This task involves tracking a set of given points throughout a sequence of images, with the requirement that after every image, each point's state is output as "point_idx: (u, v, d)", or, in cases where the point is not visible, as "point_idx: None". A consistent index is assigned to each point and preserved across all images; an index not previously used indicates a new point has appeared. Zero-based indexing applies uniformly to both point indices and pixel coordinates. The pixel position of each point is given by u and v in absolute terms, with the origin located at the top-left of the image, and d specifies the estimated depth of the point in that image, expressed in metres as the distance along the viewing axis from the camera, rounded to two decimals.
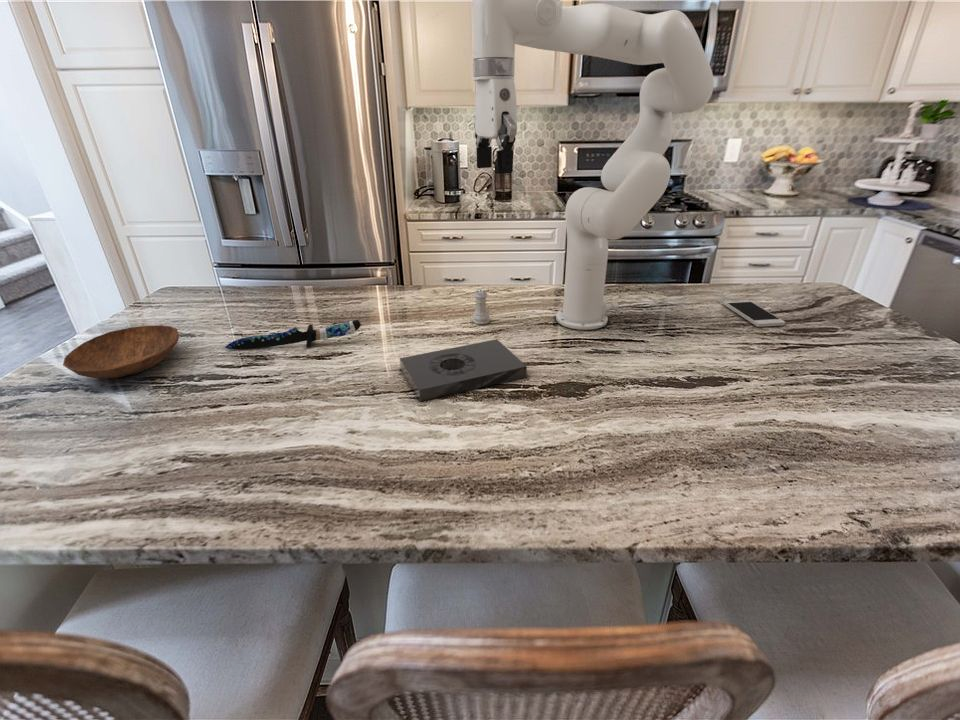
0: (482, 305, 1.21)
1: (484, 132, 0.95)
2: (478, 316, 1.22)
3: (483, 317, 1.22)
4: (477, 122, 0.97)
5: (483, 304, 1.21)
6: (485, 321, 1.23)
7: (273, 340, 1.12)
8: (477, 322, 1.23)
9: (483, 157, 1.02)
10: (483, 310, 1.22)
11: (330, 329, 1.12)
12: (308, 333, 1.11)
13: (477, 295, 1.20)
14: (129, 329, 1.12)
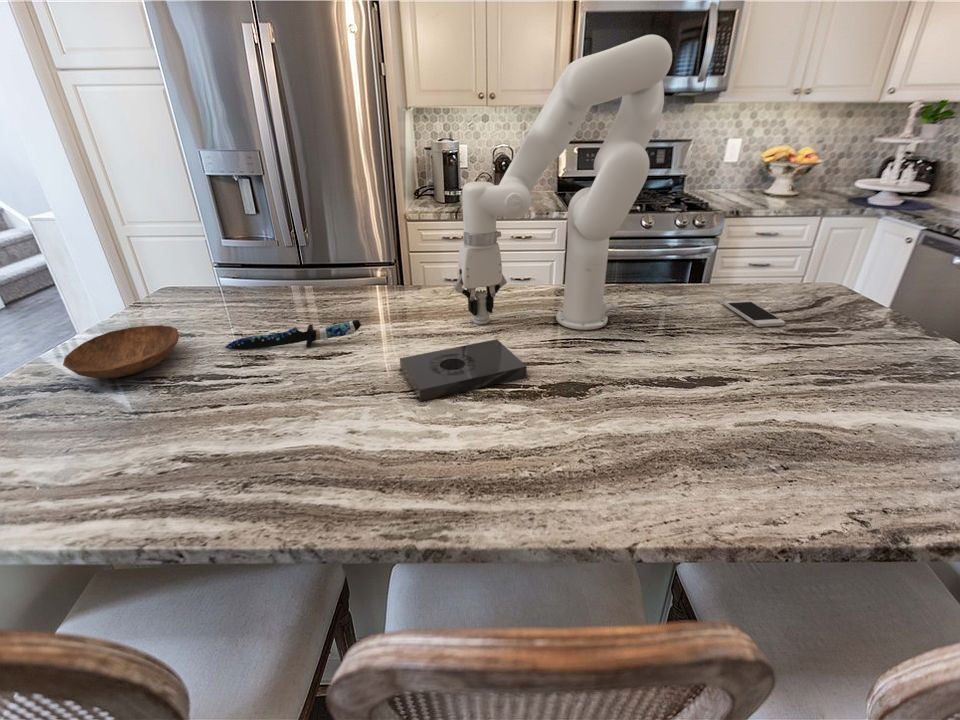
0: (482, 305, 1.21)
1: (484, 283, 1.18)
2: (478, 316, 1.22)
3: (483, 317, 1.22)
4: (472, 278, 1.16)
5: (483, 304, 1.21)
6: (485, 321, 1.23)
7: (273, 340, 1.12)
8: (477, 322, 1.23)
9: None
10: (483, 310, 1.22)
11: (330, 329, 1.12)
12: (308, 333, 1.11)
13: (477, 295, 1.20)
14: (129, 329, 1.12)
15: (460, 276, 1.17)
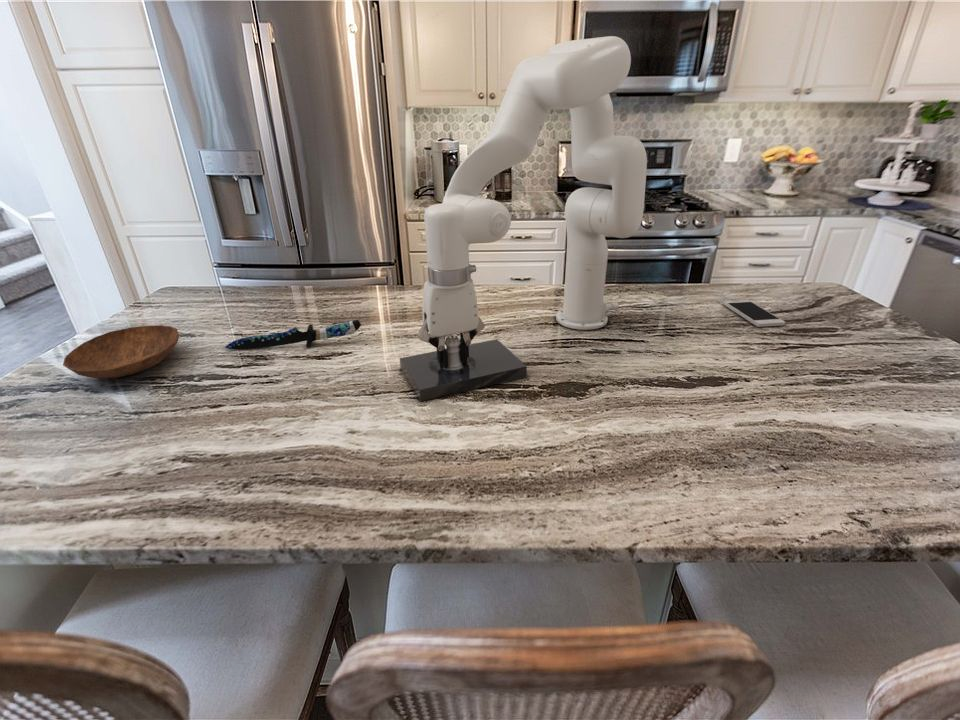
0: (454, 355, 0.97)
1: (456, 329, 0.94)
2: (450, 369, 0.98)
3: None
4: (439, 324, 0.92)
5: (455, 354, 0.97)
6: None
7: (273, 340, 1.12)
8: None
9: None
10: (455, 361, 0.98)
11: (330, 329, 1.12)
12: (308, 333, 1.11)
13: (447, 343, 0.96)
14: (129, 329, 1.12)
15: (425, 321, 0.93)
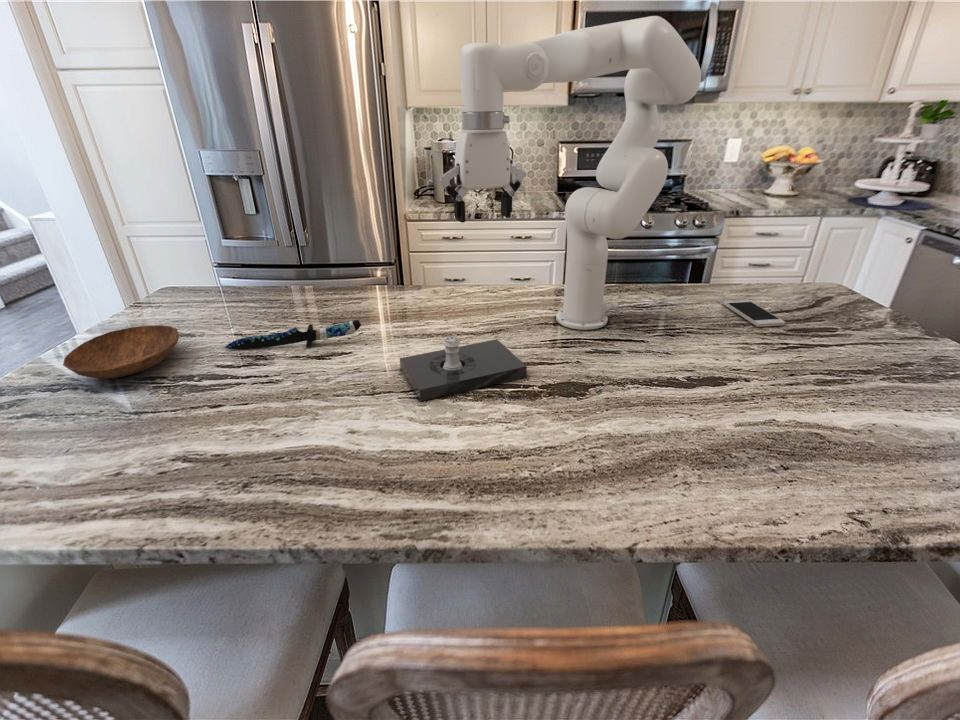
0: (453, 356, 0.97)
1: (488, 183, 0.94)
2: None
3: None
4: (472, 174, 0.92)
5: (454, 355, 0.97)
6: None
7: (273, 340, 1.12)
8: None
9: None
10: (455, 361, 0.98)
11: (330, 329, 1.12)
12: (308, 333, 1.11)
13: (447, 344, 0.96)
14: (129, 329, 1.12)
15: (457, 173, 0.93)
